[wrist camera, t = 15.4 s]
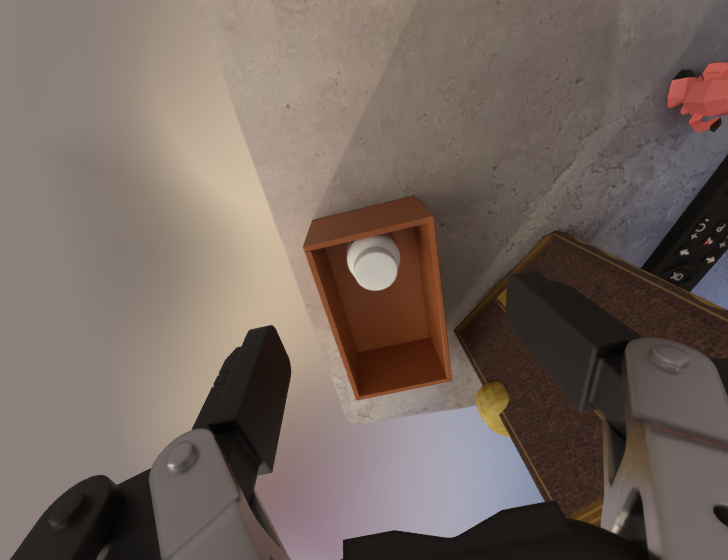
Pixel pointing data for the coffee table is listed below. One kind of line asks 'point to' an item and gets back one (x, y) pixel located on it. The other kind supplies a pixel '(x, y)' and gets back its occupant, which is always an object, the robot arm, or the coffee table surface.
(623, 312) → the book
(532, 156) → the coffee table surface
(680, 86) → the cat figurine
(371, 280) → the pill bottle
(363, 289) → the orange open bin
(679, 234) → the remote control
